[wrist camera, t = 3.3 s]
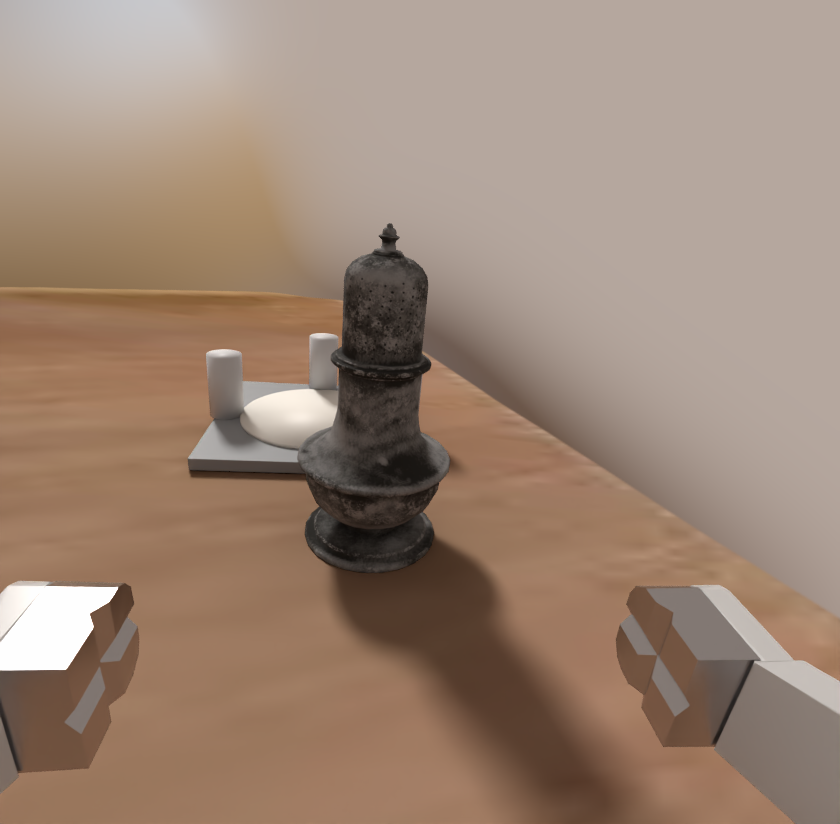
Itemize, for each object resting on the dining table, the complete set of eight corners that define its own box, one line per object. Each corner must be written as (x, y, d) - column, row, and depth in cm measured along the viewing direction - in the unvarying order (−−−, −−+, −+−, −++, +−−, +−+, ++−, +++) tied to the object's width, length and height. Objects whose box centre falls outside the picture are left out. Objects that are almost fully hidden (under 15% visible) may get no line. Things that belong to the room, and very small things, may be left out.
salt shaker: (334, 482, 25) (342, 214, 20) (453, 509, 23) (491, 230, 19) (268, 555, 19) (260, 214, 15) (419, 595, 18) (460, 236, 14)
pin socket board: (179, 469, 24) (171, 388, 23) (234, 387, 35) (232, 327, 33) (426, 477, 26) (435, 401, 24) (408, 395, 36) (413, 339, 35)
